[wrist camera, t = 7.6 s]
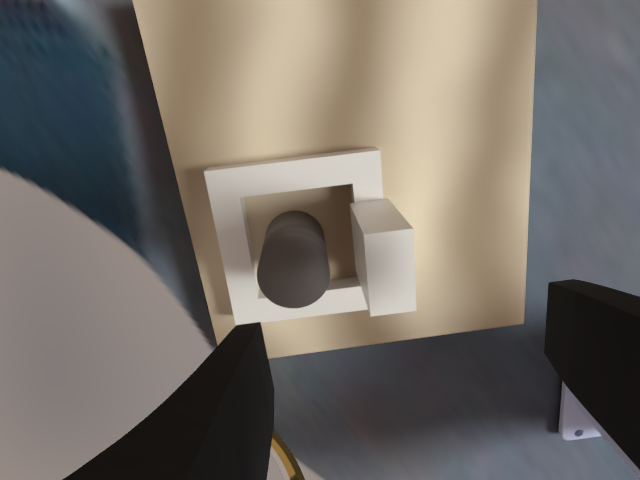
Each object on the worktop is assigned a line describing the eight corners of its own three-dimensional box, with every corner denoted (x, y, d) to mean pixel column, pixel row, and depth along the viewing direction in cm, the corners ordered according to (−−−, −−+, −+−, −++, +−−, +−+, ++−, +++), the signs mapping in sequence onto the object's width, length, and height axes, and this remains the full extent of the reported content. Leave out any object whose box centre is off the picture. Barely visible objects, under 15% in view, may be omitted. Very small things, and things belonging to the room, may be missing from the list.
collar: (380, 146, 17) (410, 166, 13) (390, 296, 20) (418, 359, 15) (208, 167, 17) (175, 194, 13) (238, 314, 20) (219, 384, 15)
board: (519, -44, 17) (618, -107, 11) (509, 308, 22) (574, 375, 17) (146, 7, 17) (77, -32, 11) (227, 347, 22) (204, 425, 17)
